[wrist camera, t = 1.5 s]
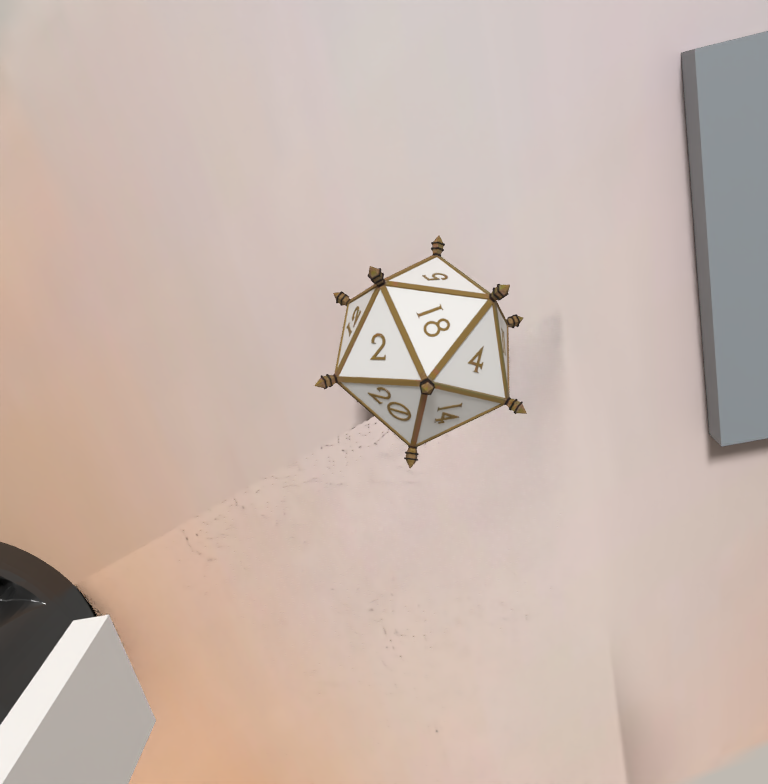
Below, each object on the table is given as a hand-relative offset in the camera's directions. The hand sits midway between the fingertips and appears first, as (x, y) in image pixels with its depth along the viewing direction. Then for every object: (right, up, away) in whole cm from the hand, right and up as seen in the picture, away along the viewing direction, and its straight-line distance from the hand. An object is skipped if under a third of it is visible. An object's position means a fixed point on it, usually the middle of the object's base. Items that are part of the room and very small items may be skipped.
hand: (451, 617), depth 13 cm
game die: (+1, +8, +21) cm, 22 cm away
